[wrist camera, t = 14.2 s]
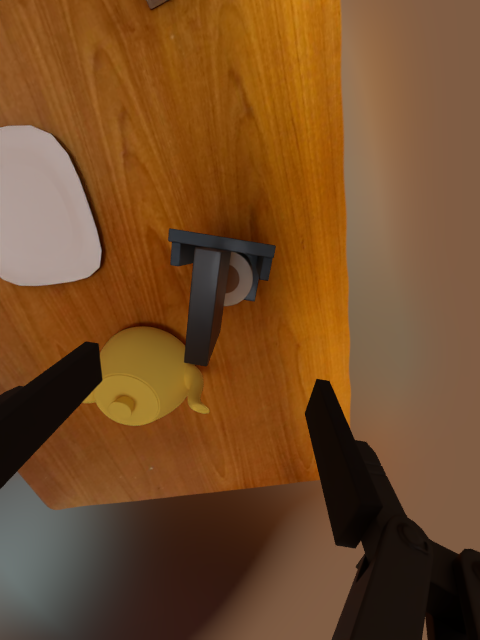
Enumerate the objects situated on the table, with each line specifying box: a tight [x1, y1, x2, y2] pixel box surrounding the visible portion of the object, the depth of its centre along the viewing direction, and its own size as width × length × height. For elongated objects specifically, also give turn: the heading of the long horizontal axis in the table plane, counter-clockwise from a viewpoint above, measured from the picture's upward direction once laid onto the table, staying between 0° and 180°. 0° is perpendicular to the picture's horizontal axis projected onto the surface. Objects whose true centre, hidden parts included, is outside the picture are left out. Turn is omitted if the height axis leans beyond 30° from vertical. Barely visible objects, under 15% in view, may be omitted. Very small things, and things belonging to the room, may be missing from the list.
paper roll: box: [224, 251, 253, 306], centre depth 32 cm, size 11×6×6 cm
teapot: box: [82, 326, 210, 426], centre depth 42 cm, size 25×18×14 cm
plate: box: [0, 125, 102, 286], centre depth 37 cm, size 22×22×2 cm
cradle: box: [168, 229, 276, 366], centre depth 27 cm, size 25×9×8 cm
